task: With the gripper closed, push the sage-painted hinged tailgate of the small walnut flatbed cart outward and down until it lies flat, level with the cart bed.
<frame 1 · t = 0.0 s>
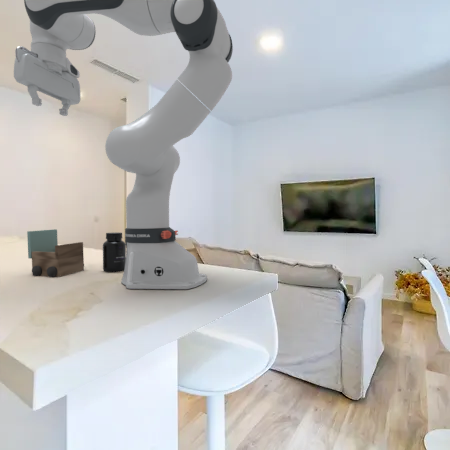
hand: (51, 110, 89), 48 cm above the counter, tool pointing down, fingers open, 8 cm apart
supplement bottle: (114, 271, 98), on the counter
tailgate: (42, 243, 96), point 9 cm above the counter, hinge at 0.0°
cart: (58, 272, 95), on the counter
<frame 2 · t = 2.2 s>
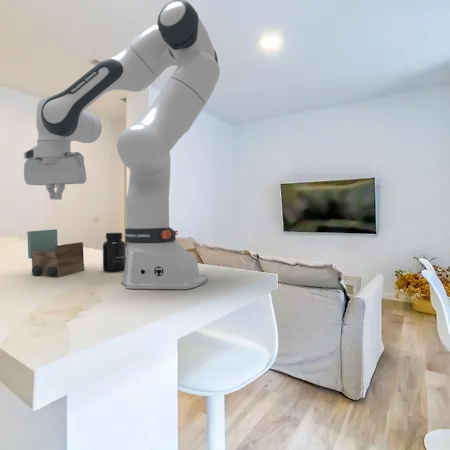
hand: (55, 199, 94), 22 cm above the counter, tool pointing down, fingers closed
nothing on the counter moved.
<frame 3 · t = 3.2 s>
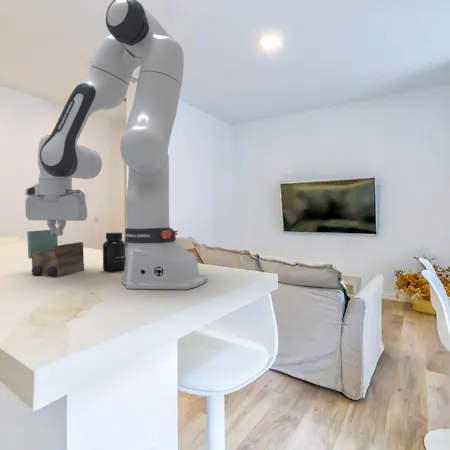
hand: (56, 235, 95), 11 cm above the counter, tool pointing down, fingers closed
nothing on the counter moved.
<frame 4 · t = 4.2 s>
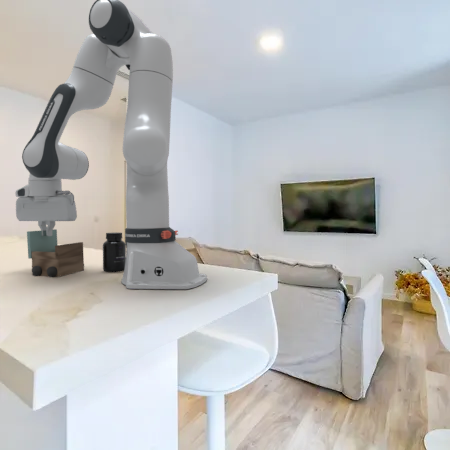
hand: (47, 236, 96), 11 cm above the counter, tool pointing down, fingers closed
tailgate: (42, 243, 96), point 9 cm above the counter, hinge at 1.2°, touching gripper
everything else where it was.
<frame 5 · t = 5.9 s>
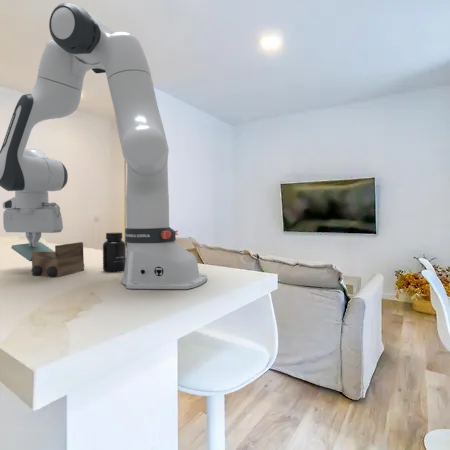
hand: (33, 247, 97), 8 cm above the counter, tool pointing down, fingers closed, pressing on tailgate
tailgate: (35, 251, 97), point 6 cm above the counter, hinge at 61.7°, touching gripper
everything else where it was.
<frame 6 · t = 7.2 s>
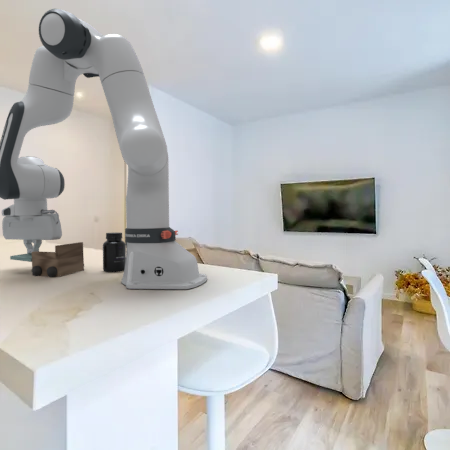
hand: (33, 253, 98), 6 cm above the counter, tool pointing down, fingers closed
tailgate: (34, 257, 97), point 4 cm above the counter, hinge at 86.6°
everything else where it was.
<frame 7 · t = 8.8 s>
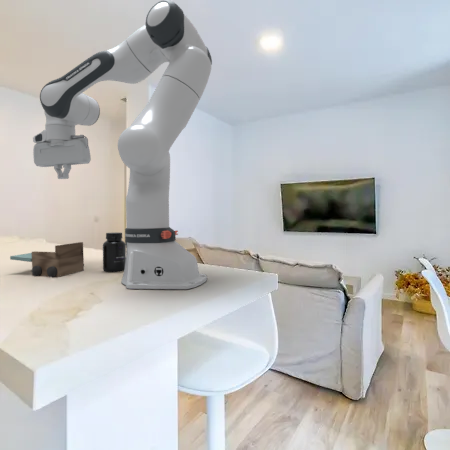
hand: (63, 178, 104), 30 cm above the counter, tool pointing down, fingers closed
nothing on the counter moved.
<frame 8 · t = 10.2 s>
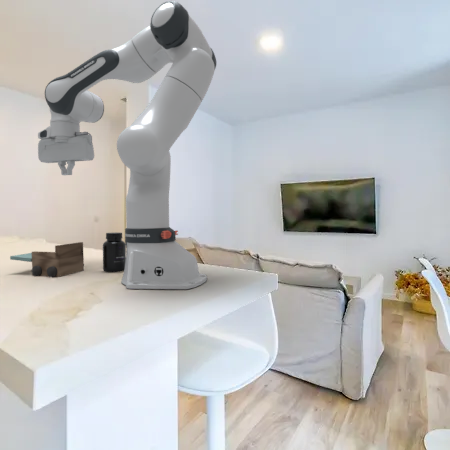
hand: (66, 175, 105), 31 cm above the counter, tool pointing down, fingers closed
nothing on the counter moved.
at the end: tailgate at +87° (first picture: +0°); supplement bottle moved 0.2 cm from its start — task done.
